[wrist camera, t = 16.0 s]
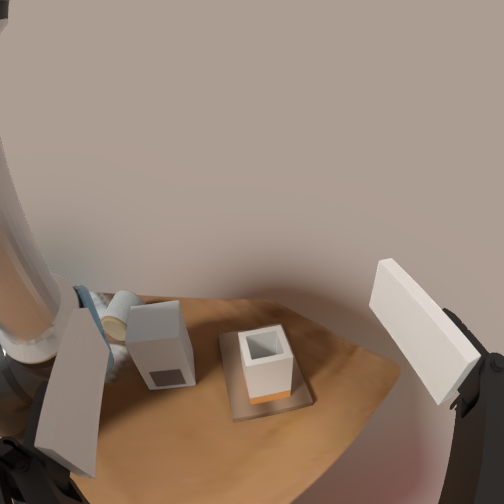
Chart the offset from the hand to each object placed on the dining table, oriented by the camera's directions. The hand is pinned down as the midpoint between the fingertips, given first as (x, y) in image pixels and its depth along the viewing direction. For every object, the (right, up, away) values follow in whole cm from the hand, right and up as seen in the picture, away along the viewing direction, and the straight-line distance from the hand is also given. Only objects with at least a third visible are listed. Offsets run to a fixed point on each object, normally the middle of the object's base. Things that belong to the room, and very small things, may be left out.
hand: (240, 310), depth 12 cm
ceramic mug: (-23, -14, +43) cm, 51 cm away
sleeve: (+3, -18, +30) cm, 35 cm away
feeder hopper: (-13, -18, +34) cm, 41 cm away
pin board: (+2, -17, +34) cm, 38 cm away
